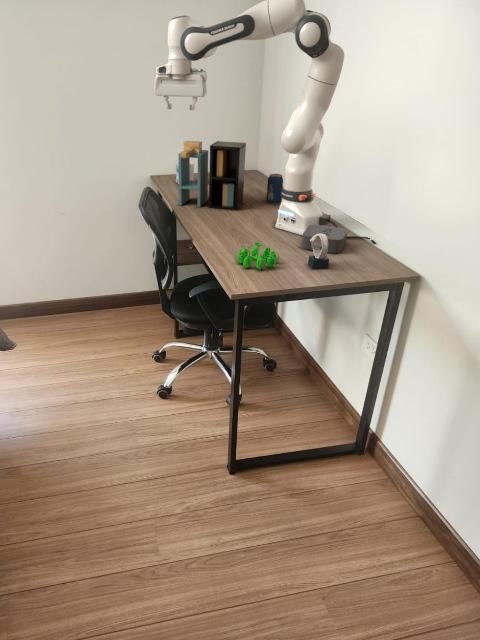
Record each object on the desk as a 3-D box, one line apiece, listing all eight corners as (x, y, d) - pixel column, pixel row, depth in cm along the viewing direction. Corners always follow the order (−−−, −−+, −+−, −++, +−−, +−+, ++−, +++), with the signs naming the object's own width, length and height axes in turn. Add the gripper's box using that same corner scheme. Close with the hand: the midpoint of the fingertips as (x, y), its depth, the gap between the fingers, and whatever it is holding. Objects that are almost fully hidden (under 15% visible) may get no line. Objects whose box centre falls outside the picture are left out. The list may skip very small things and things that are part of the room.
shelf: (236, 210, 238) (239, 147, 223) (208, 207, 241) (209, 145, 227) (242, 203, 246) (245, 142, 232) (215, 201, 250) (217, 141, 235)
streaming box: (339, 254, 192) (341, 240, 189) (299, 249, 197) (301, 235, 194) (346, 242, 203) (348, 228, 200) (308, 237, 208) (310, 224, 205)
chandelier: (287, 262, 185) (289, 243, 181) (261, 275, 176) (263, 254, 172) (252, 252, 193) (253, 233, 190) (226, 264, 184) (226, 244, 180)
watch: (321, 261, 186) (325, 230, 180) (329, 270, 180) (334, 237, 174) (305, 262, 185) (309, 231, 179) (314, 271, 179) (318, 238, 173)
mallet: (186, 150, 237) (186, 140, 235) (201, 151, 236) (202, 141, 233) (175, 157, 225) (175, 146, 223) (191, 158, 224) (191, 147, 221)
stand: (199, 207, 242) (200, 155, 229) (179, 205, 244) (178, 153, 232) (207, 200, 251) (208, 150, 239) (187, 198, 254) (187, 148, 241)
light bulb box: (175, 182, 281) (175, 160, 275) (188, 181, 282) (188, 159, 276) (181, 187, 272) (181, 164, 266) (194, 186, 274) (194, 163, 268)
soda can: (280, 200, 251) (283, 173, 245) (281, 204, 246) (283, 177, 239) (266, 200, 252) (268, 173, 245) (266, 204, 246) (268, 176, 239)
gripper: (209, 68, 201) (208, 109, 209) (157, 67, 206) (159, 107, 214) (204, 69, 196) (203, 111, 204) (151, 68, 201) (153, 109, 209)
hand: (180, 109), depth 209 cm, fingers open, 8 cm apart
